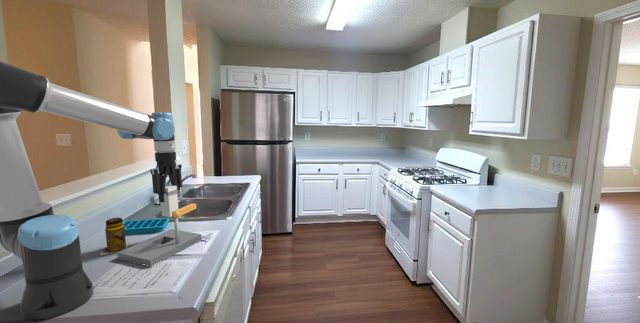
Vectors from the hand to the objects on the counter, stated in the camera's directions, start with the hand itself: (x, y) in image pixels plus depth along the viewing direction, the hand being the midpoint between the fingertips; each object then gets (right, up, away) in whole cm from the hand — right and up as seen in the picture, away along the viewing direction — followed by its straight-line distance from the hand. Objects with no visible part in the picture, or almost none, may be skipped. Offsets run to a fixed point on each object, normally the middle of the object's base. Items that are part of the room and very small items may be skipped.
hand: (169, 207), depth 122 cm
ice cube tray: (-18, -12, +12) cm, 25 cm away
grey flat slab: (+1, -15, -8) cm, 17 cm away
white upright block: (0, -3, 0) cm, 3 cm away
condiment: (-17, -15, -8) cm, 24 cm away
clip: (+8, -12, -3) cm, 15 cm away
